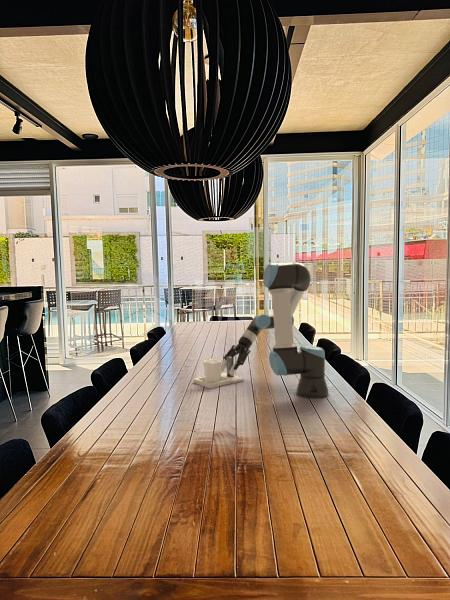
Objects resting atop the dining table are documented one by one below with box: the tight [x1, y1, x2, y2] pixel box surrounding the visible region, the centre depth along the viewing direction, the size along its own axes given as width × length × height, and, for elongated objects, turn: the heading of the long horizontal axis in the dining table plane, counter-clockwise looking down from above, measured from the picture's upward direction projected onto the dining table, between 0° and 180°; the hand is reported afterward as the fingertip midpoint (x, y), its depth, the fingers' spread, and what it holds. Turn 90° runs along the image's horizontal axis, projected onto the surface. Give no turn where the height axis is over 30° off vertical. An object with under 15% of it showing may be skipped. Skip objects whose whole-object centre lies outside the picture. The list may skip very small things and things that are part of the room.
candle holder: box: [203, 358, 223, 384], centre depth 232 cm, size 10×10×12 cm
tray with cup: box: [193, 356, 245, 389], centre depth 234 cm, size 16×22×12 cm
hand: (225, 372), depth 237 cm, fingers open, 8 cm apart
